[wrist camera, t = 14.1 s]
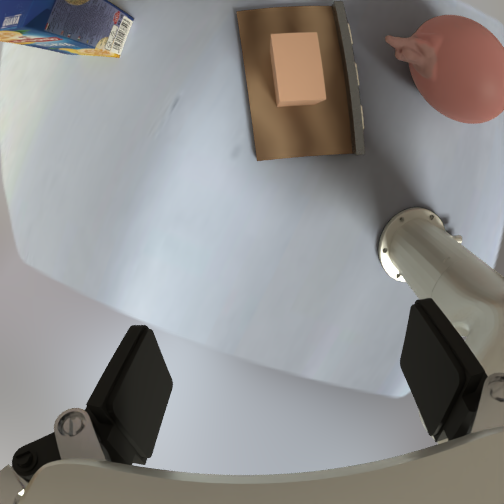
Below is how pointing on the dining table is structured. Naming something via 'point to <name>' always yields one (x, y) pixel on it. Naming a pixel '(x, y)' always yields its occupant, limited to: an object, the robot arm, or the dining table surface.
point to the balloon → (456, 67)
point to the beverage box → (66, 26)
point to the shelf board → (303, 116)
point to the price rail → (350, 78)
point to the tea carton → (297, 69)
